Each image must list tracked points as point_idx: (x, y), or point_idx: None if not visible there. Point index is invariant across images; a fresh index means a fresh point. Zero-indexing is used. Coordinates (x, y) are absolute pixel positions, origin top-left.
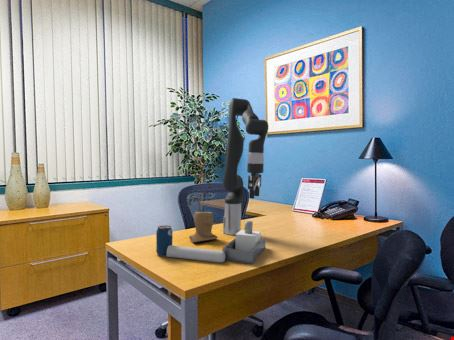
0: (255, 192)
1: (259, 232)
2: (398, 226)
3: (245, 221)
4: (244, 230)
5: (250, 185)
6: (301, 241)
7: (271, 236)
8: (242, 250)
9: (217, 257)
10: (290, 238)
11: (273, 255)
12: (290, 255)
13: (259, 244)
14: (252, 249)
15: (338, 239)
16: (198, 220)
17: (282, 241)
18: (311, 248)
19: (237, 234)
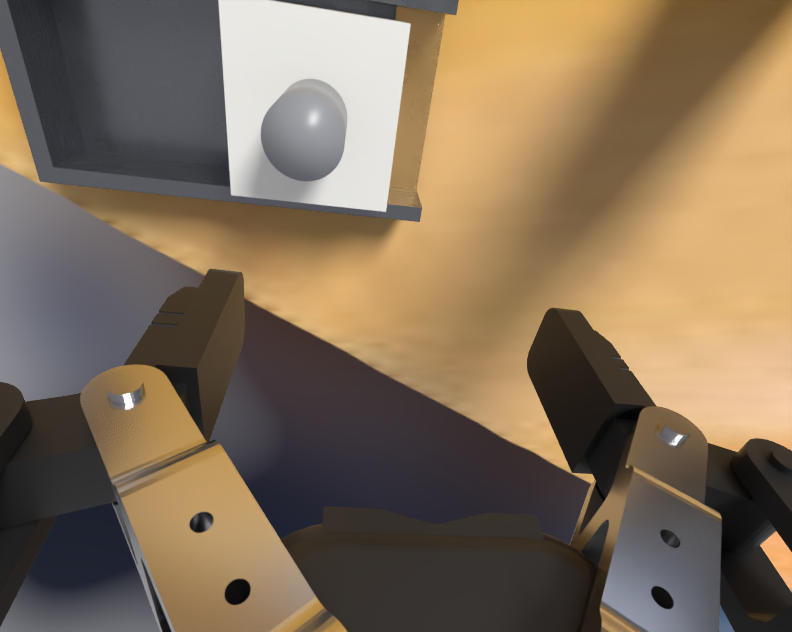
0: (567, 357)
1: (355, 205)
2: None
3: (299, 103)
4: (389, 63)
5: (112, 487)
6: None
7: (684, 209)
8: (21, 106)
9: None
10: (630, 312)
11: (286, 251)
12: (318, 323)
13: (235, 201)
14: (90, 172)
15: None
16: None
17: (565, 278)
18: (455, 395)
19: (220, 15)
